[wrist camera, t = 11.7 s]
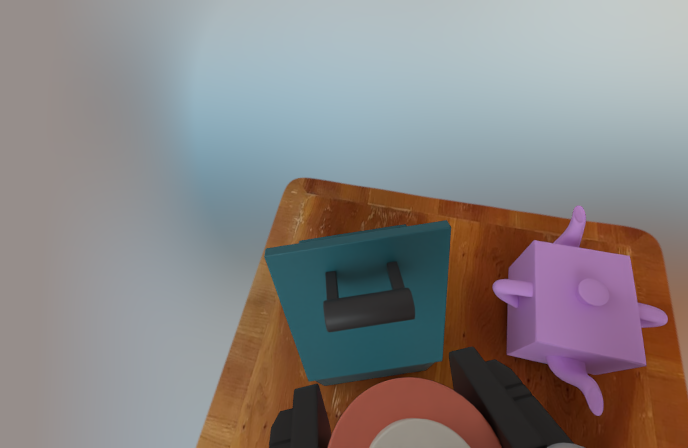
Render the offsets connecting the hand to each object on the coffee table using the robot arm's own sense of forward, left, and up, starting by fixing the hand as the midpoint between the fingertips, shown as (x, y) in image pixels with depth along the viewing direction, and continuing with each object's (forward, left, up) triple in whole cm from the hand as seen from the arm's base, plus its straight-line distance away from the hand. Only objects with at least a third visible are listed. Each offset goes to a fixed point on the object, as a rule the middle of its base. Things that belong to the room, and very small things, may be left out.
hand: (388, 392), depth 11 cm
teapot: (+20, +6, -31) cm, 37 cm away
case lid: (0, +6, -14) cm, 15 cm away
